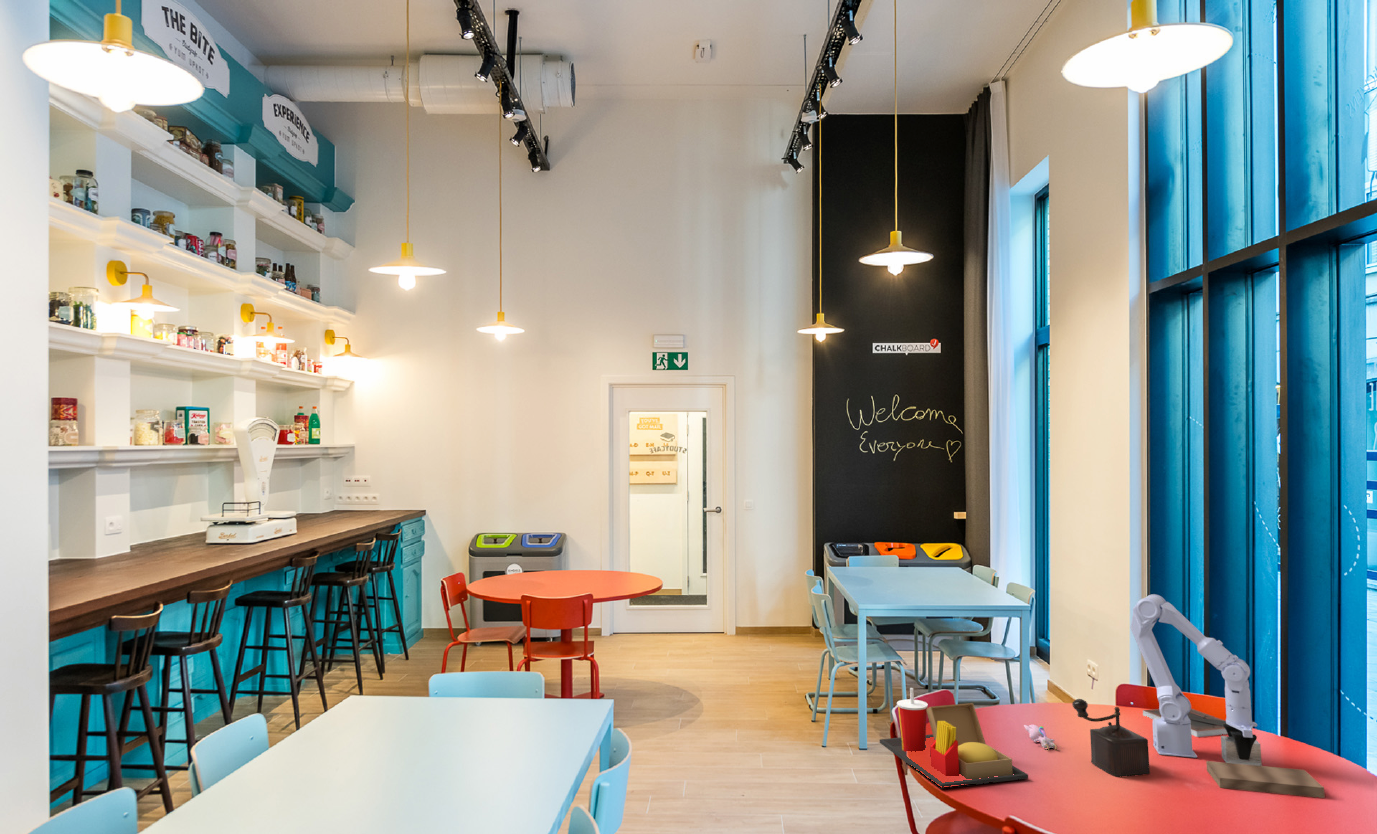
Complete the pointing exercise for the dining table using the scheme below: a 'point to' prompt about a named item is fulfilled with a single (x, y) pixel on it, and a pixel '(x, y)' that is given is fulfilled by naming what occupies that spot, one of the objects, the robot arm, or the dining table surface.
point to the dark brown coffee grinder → (1116, 746)
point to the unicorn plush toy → (1040, 736)
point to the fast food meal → (950, 743)
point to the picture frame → (1197, 722)
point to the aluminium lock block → (1232, 755)
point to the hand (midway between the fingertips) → (1241, 755)
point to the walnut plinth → (1264, 779)
